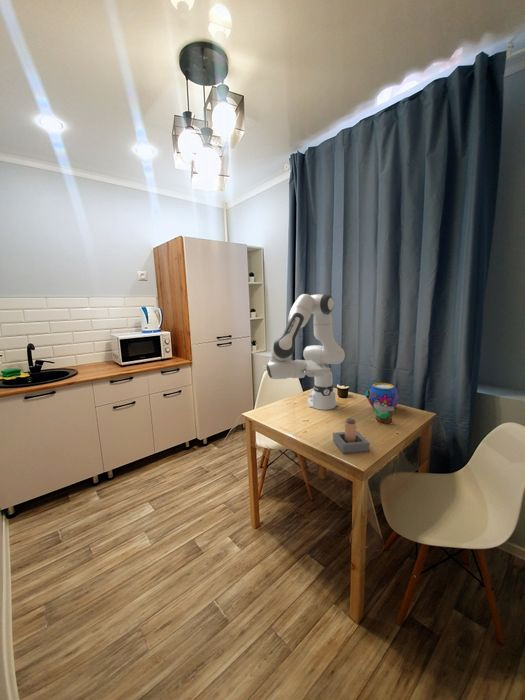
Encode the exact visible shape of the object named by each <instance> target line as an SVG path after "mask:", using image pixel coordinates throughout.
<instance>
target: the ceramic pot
mask: <svg viewBox="0 0 525 700" xmlns="http://www.w3.org/2000/svg"><path fill="white" fill-rule="evenodd" d="M365 397H366V399H367V401H368V402H369V404H370V406H371V407H372V408H373V409H375V407H374V403H375V401H376V400H379V402H380V403H383V404H386V405H388V406H390V407H394V409H395V408H396V407H397V406H398V404H399V401H400V394H399V391H398V389H397V387H396V386H395V385H393V384H391V383H388V382H387V383H386V382H377V383H373V384H371V386H370V387H369V389H368V390H367V391H366V392H365Z"/></svg>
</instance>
